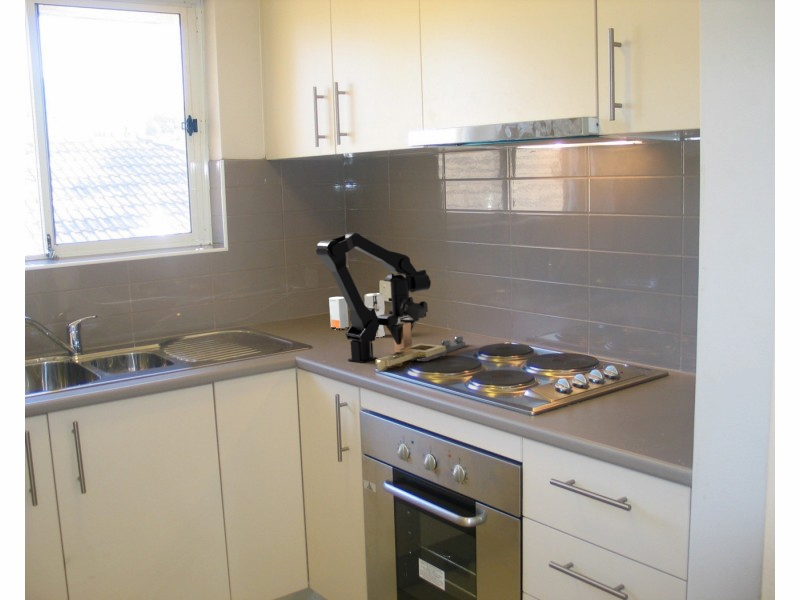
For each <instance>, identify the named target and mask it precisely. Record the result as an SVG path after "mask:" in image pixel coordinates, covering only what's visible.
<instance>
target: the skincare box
mask: <svg viewBox="0 0 800 600" xmlns="http://www.w3.org/2000/svg"><path fill="white" fill-rule="evenodd" d="M328 300H329V301H328V302H329V303H328V305H329V318H330V319H329V320H330V328H331V327H336V328H345V327H349V328H350V326H349V311H348V309H349V307H348V305H347V303H346V301H345V299H344V297H343V296H332V297H329V298H328Z"/></svg>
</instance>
